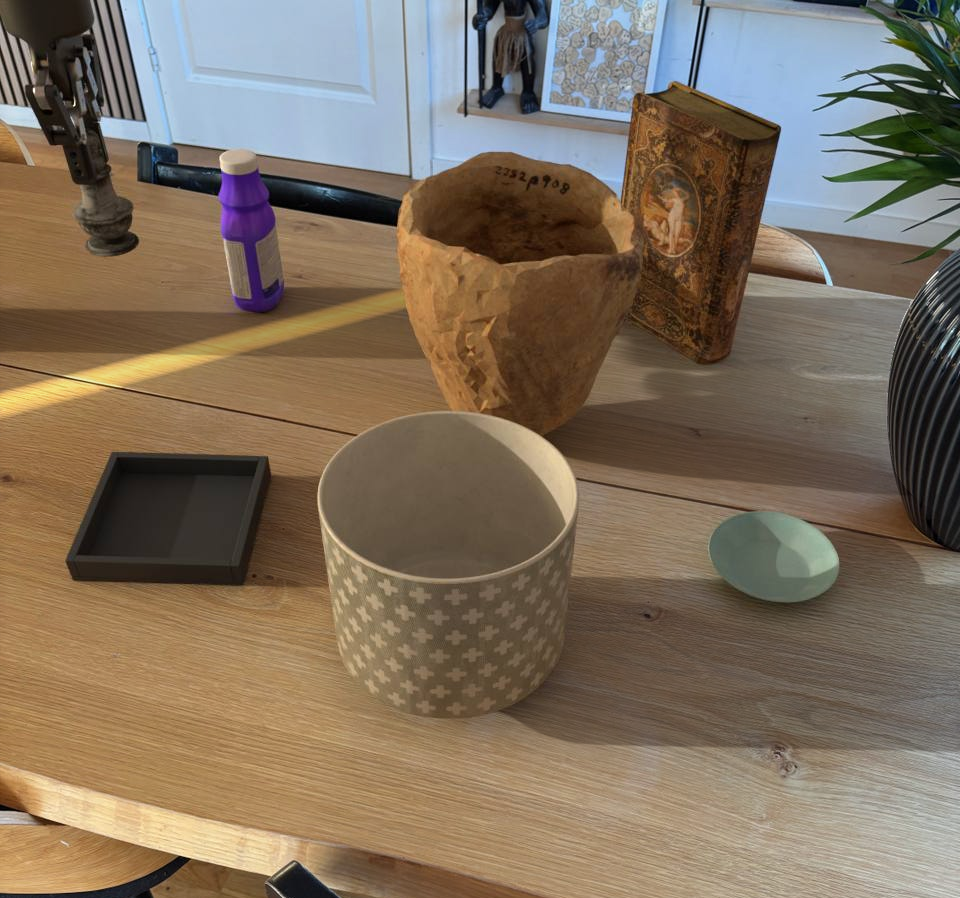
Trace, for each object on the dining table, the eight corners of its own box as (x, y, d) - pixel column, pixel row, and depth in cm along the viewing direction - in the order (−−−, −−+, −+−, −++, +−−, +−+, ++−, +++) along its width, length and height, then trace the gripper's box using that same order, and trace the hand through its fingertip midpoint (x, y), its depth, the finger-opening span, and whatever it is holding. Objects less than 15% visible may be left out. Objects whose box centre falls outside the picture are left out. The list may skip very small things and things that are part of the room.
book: (738, 352, 118) (790, 129, 100) (705, 368, 116) (752, 143, 97) (639, 293, 127) (670, 78, 108) (607, 307, 125) (633, 90, 106)
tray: (72, 580, 92) (64, 560, 90) (117, 471, 103) (111, 451, 101) (243, 585, 92) (239, 565, 90) (271, 475, 103) (268, 455, 101)
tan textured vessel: (633, 498, 101) (672, 261, 82) (408, 506, 100) (395, 268, 81) (600, 368, 116) (626, 143, 97) (404, 374, 115) (392, 147, 96)
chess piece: (121, 262, 100) (87, 136, 91) (70, 252, 101) (31, 127, 92) (153, 235, 104) (123, 112, 95) (103, 226, 105) (69, 103, 96)
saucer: (836, 626, 90) (843, 608, 88) (702, 608, 91) (706, 590, 89) (829, 537, 98) (836, 519, 96) (705, 521, 99) (710, 503, 97)
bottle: (249, 283, 127) (224, 139, 114) (292, 288, 127) (272, 144, 114) (227, 313, 123) (200, 167, 110) (272, 318, 122) (249, 172, 109)
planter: (584, 601, 91) (606, 437, 78) (526, 767, 79) (539, 609, 66) (387, 554, 95) (375, 391, 81) (303, 707, 83) (272, 545, 69)
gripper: (15, -61, 89) (73, 141, 102) (-42, -8, 80) (30, 207, 93) (101, -60, 89) (148, 142, 102) (54, -7, 80) (112, 208, 93)
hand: (91, 172), depth 97 cm, fingers closed on chess piece, 3 cm apart
